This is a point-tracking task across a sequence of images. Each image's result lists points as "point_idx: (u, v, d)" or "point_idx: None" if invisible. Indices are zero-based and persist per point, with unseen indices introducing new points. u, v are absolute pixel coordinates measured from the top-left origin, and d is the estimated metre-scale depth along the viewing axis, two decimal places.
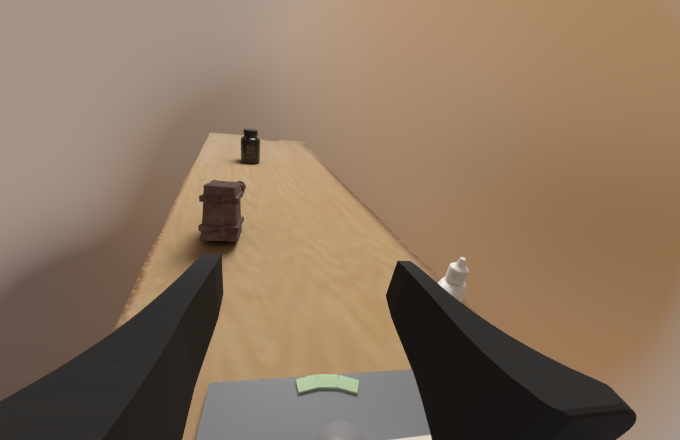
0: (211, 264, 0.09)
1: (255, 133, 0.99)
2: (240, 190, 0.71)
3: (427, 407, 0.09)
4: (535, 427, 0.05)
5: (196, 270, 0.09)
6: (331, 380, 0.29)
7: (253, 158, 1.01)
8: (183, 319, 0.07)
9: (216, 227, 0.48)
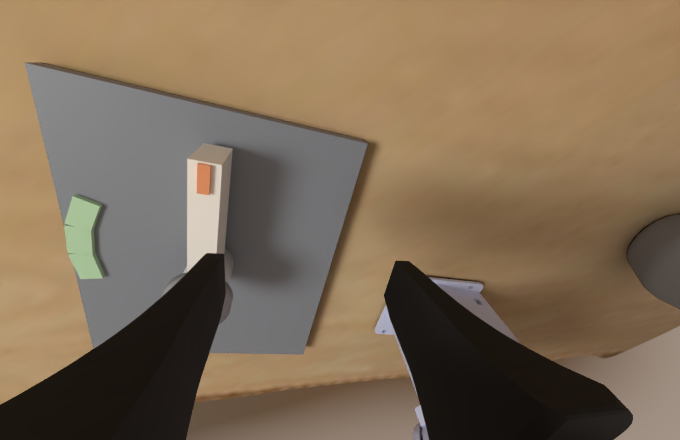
0: (214, 264, 0.09)
1: None
2: None
3: (424, 407, 0.09)
4: (532, 427, 0.05)
5: (199, 270, 0.09)
6: (78, 236, 0.18)
7: None
8: (187, 319, 0.07)
9: None
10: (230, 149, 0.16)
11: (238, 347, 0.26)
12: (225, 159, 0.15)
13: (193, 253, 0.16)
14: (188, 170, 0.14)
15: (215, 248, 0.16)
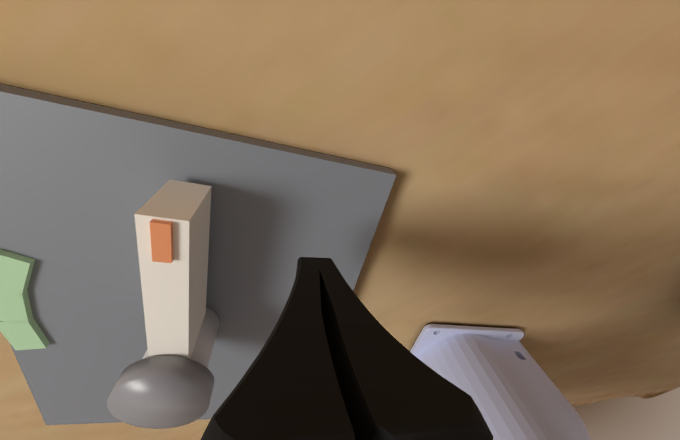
0: (316, 267, 0.10)
1: None
2: None
3: None
4: None
5: (307, 273, 0.09)
6: (5, 301, 0.13)
7: None
8: None
9: None
10: (207, 187, 0.11)
11: None
12: (197, 208, 0.10)
13: (155, 334, 0.11)
14: (138, 229, 0.09)
15: (186, 327, 0.11)
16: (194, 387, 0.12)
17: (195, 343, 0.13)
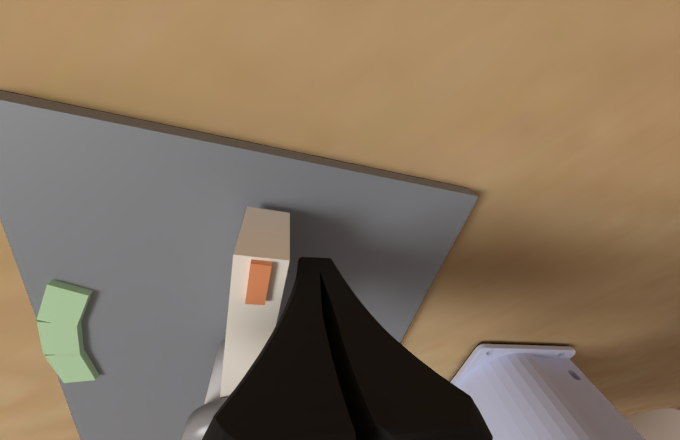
0: (316, 267, 0.10)
1: None
2: None
3: None
4: None
5: (307, 273, 0.09)
6: (58, 334, 0.12)
7: None
8: None
9: None
10: (287, 215, 0.11)
11: None
12: (288, 242, 0.09)
13: (231, 375, 0.10)
14: (232, 269, 0.08)
15: None
16: None
17: None
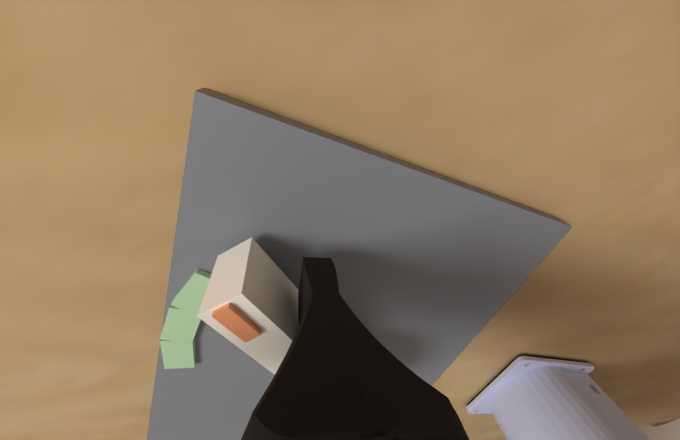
0: (332, 268, 0.10)
1: None
2: None
3: None
4: None
5: (324, 273, 0.10)
6: (183, 321, 0.13)
7: None
8: None
9: None
10: (249, 241, 0.11)
11: None
12: (245, 272, 0.09)
13: None
14: (214, 323, 0.09)
15: None
16: None
17: None
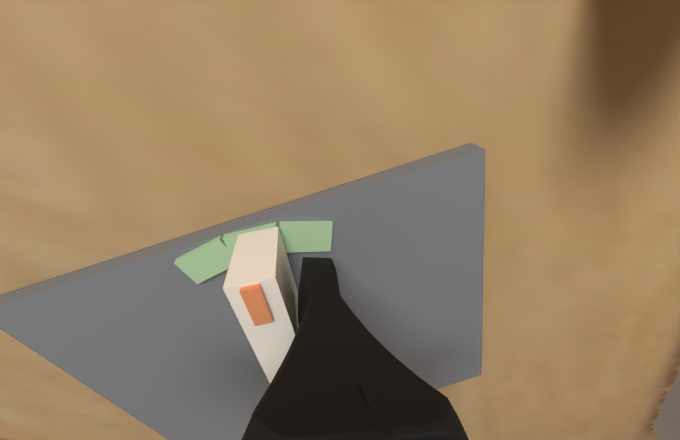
0: (332, 268, 0.10)
1: None
2: None
3: None
4: None
5: (325, 274, 0.10)
6: None
7: None
8: None
9: None
10: (276, 229, 0.11)
11: (165, 424, 0.17)
12: (275, 258, 0.09)
13: None
14: (231, 300, 0.09)
15: None
16: None
17: None
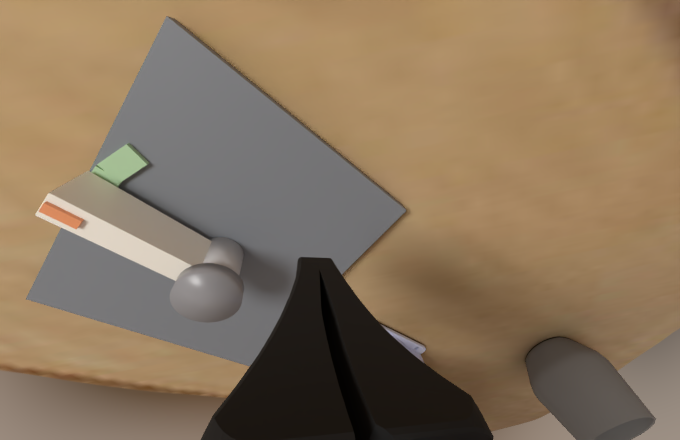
0: (316, 267, 0.10)
1: None
2: None
3: None
4: None
5: (307, 273, 0.09)
6: None
7: None
8: None
9: None
10: (84, 173, 0.15)
11: (191, 341, 0.24)
12: (63, 185, 0.14)
13: (156, 266, 0.16)
14: (53, 221, 0.14)
15: (158, 249, 0.15)
16: (199, 276, 0.15)
17: (203, 258, 0.17)
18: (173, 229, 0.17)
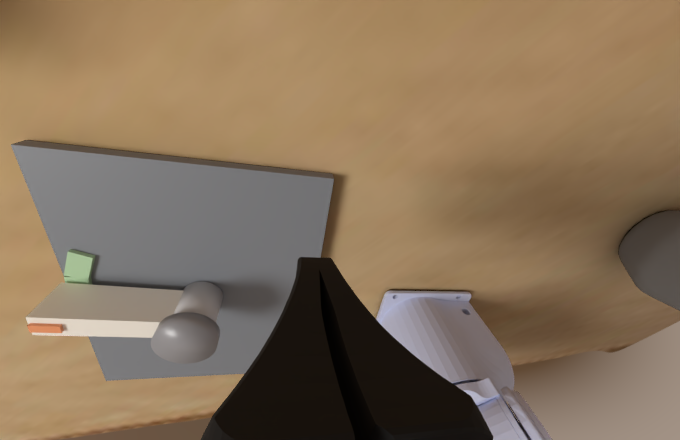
0: (316, 267, 0.10)
1: None
2: None
3: None
4: None
5: (307, 273, 0.09)
6: None
7: None
8: None
9: None
10: (59, 285, 0.19)
11: (238, 368, 0.27)
12: (38, 305, 0.17)
13: (137, 334, 0.18)
14: (48, 333, 0.17)
15: (126, 321, 0.18)
16: (161, 330, 0.17)
17: (173, 310, 0.19)
18: (142, 297, 0.20)
